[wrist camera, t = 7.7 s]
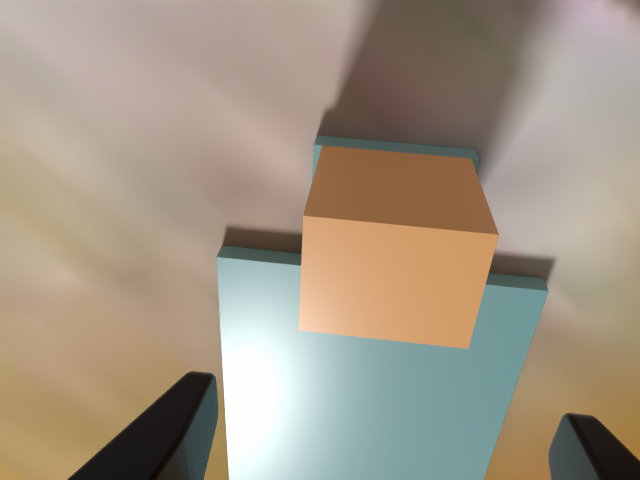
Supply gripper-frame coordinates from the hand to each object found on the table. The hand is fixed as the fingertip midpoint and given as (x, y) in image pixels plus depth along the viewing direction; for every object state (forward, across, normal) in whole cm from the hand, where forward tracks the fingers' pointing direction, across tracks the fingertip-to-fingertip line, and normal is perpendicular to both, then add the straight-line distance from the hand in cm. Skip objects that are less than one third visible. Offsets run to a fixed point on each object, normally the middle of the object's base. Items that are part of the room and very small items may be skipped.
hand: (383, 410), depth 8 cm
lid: (+7, 0, +7) cm, 10 cm away
